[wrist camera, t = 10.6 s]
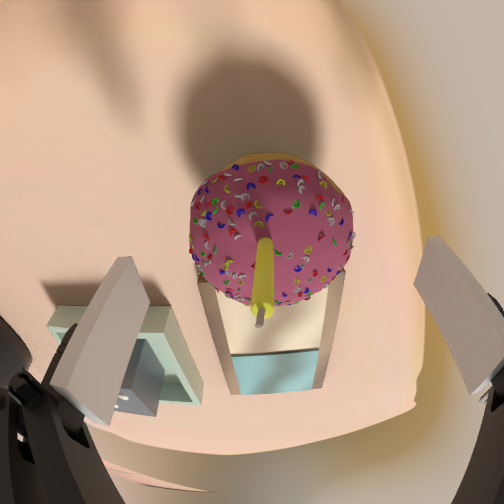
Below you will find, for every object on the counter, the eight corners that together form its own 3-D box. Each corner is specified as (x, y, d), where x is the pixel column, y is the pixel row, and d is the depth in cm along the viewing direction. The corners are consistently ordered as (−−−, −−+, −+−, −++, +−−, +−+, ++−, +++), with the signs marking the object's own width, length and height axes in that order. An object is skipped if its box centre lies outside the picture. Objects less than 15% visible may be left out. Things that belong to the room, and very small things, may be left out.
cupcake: (176, 176, 17) (87, 317, 7) (299, 114, 14) (405, 177, 4) (240, 272, 21) (236, 428, 11) (346, 227, 19) (420, 373, 9)
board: (231, 387, 31) (230, 396, 30) (199, 274, 21) (196, 284, 20) (320, 381, 30) (321, 389, 29) (341, 264, 20) (346, 273, 19)
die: (120, 367, 28) (107, 410, 23) (97, 335, 25) (79, 382, 20) (165, 370, 28) (155, 417, 23) (145, 337, 24) (130, 390, 19)
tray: (109, 376, 31) (103, 394, 28) (58, 305, 23) (46, 325, 21) (203, 383, 30) (201, 405, 28) (171, 305, 23) (163, 332, 20)
